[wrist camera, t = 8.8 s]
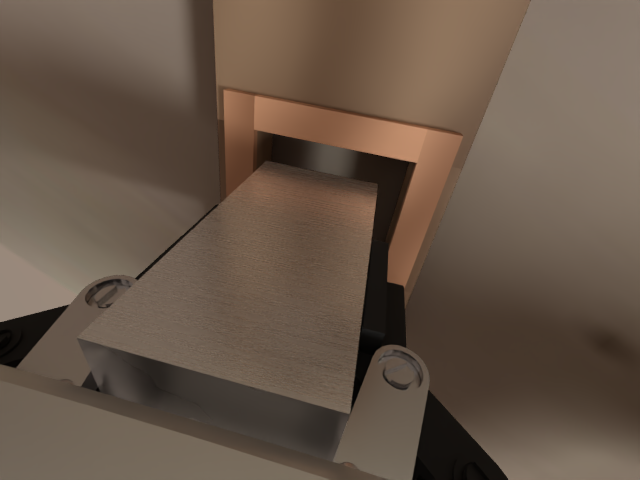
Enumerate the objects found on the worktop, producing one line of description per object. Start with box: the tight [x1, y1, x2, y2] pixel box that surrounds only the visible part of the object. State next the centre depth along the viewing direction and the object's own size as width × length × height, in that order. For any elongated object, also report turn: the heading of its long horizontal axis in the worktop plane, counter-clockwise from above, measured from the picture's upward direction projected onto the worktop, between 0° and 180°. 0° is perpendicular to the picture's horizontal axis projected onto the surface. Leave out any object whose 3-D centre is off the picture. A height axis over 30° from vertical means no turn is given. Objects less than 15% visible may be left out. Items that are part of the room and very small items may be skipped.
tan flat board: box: [213, 0, 531, 308], centre depth 11 cm, size 10×30×2 cm, turn 172°
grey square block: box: [77, 161, 378, 461], centre depth 10 cm, size 4×4×9 cm
